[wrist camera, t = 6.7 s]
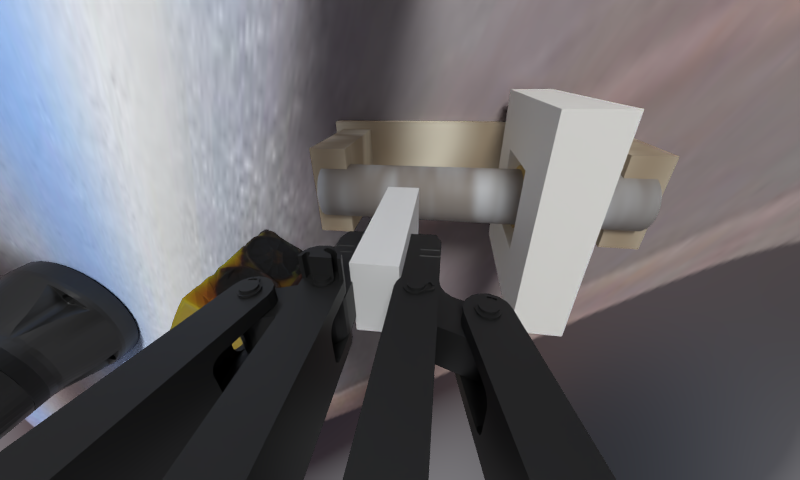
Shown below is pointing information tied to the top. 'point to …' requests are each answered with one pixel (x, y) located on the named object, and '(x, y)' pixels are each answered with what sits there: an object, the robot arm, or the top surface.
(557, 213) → the upright white plank
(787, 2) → the top surface
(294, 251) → the yellow cube with hole
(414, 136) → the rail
